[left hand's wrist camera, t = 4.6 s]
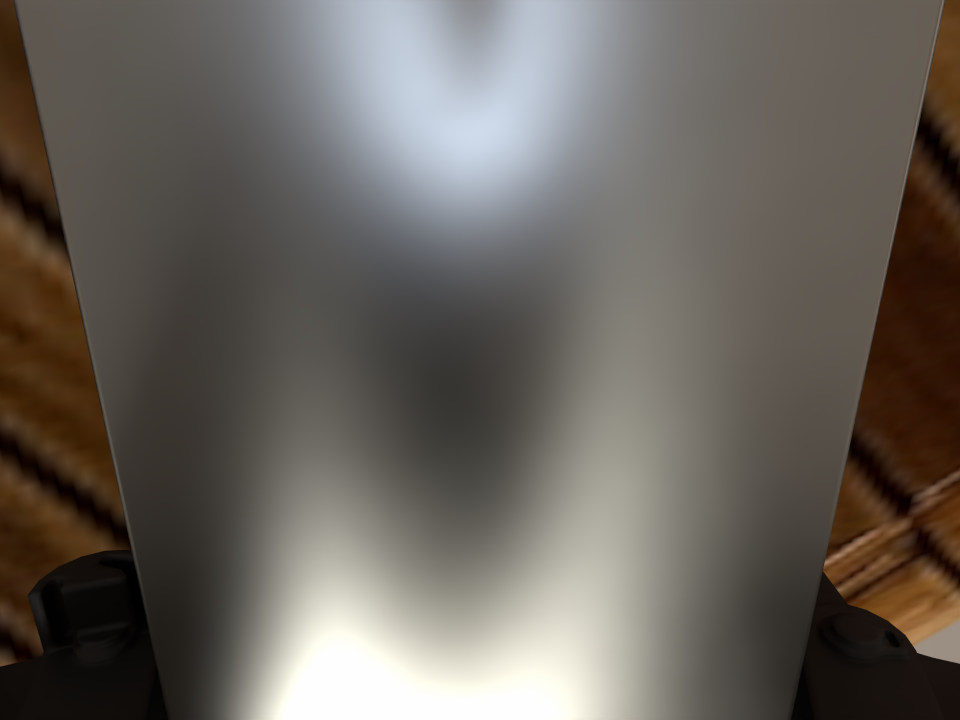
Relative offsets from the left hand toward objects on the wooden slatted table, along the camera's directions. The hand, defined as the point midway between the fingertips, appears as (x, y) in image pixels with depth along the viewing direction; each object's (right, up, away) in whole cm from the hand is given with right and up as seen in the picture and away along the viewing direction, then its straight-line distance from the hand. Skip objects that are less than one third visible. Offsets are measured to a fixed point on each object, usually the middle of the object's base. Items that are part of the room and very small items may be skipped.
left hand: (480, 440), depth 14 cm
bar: (0, +8, -2) cm, 8 cm away
